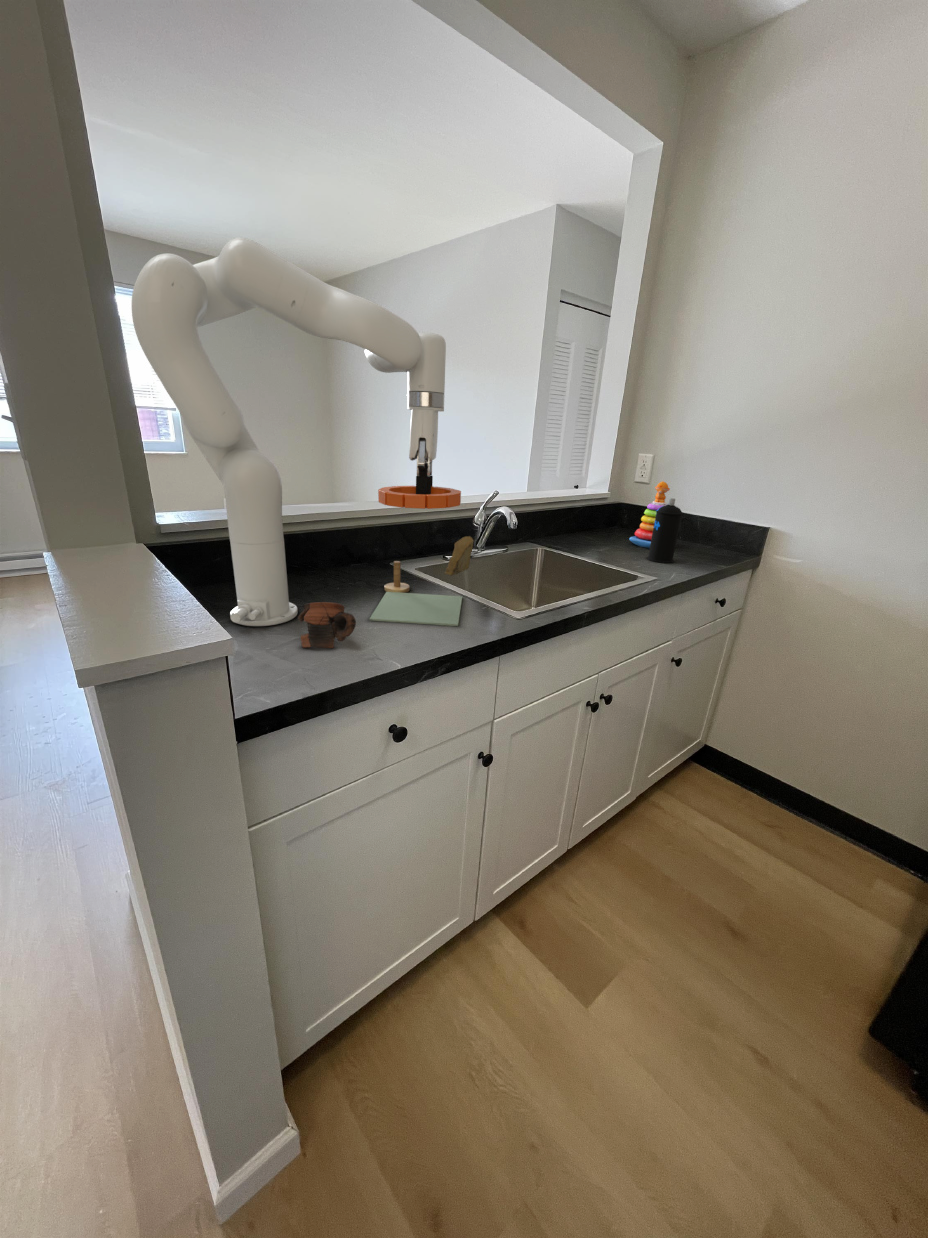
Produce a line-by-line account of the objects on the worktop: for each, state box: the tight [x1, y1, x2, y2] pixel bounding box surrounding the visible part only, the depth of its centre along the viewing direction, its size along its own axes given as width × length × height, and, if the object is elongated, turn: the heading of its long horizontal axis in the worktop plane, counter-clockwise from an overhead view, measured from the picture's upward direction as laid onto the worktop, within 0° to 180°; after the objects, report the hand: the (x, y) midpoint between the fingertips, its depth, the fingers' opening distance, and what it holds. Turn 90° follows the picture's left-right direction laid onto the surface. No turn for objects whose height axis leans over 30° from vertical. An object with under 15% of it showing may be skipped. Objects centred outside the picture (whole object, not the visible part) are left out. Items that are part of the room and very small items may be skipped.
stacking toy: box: [628, 480, 670, 549], centre depth 181 cm, size 14×13×23 cm
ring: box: [377, 485, 462, 510], centre depth 101 cm, size 16×16×2 cm
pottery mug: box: [297, 601, 357, 649], centre depth 89 cm, size 12×10×8 cm
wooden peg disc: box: [384, 560, 410, 593], centre depth 119 cm, size 6×6×7 cm
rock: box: [444, 535, 475, 576], centre depth 137 cm, size 11×9×10 cm
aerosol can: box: [646, 497, 684, 564], centre depth 160 cm, size 8×8×20 cm
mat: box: [369, 591, 463, 627], centre depth 108 cm, size 18×18×1 cm
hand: (424, 494), depth 108 cm, fingers closed on ring, 2 cm apart
